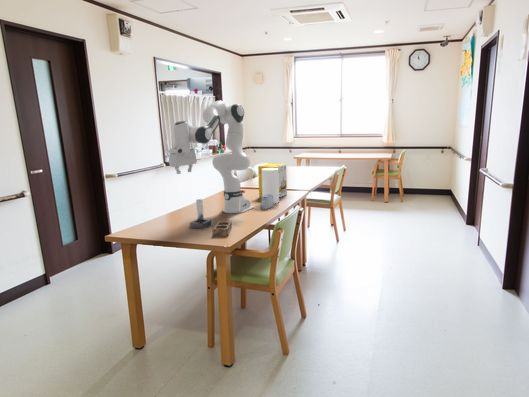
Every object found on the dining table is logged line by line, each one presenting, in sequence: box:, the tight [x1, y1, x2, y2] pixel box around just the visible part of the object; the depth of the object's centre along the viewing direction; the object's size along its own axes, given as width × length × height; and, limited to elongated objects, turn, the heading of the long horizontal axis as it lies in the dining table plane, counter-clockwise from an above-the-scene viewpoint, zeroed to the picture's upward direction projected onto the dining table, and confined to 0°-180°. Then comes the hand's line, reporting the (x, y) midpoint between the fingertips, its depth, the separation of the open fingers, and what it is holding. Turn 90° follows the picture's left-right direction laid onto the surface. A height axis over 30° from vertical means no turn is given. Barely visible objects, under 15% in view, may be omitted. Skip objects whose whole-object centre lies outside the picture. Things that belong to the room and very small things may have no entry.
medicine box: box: [260, 195, 274, 210], centre depth 265 cm, size 8×4×9 cm, turn 141°
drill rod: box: [195, 198, 204, 223], centre depth 223 cm, size 4×4×16 cm
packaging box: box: [257, 163, 288, 198], centre depth 301 cm, size 16×16×25 cm
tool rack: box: [212, 221, 233, 237], centre depth 211 cm, size 8×15×4 cm, turn 178°
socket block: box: [189, 218, 213, 230], centre depth 225 cm, size 9×9×3 cm
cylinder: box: [262, 168, 280, 204], centre depth 280 cm, size 12×12×25 cm
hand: (184, 172), depth 224 cm, fingers open, 8 cm apart
